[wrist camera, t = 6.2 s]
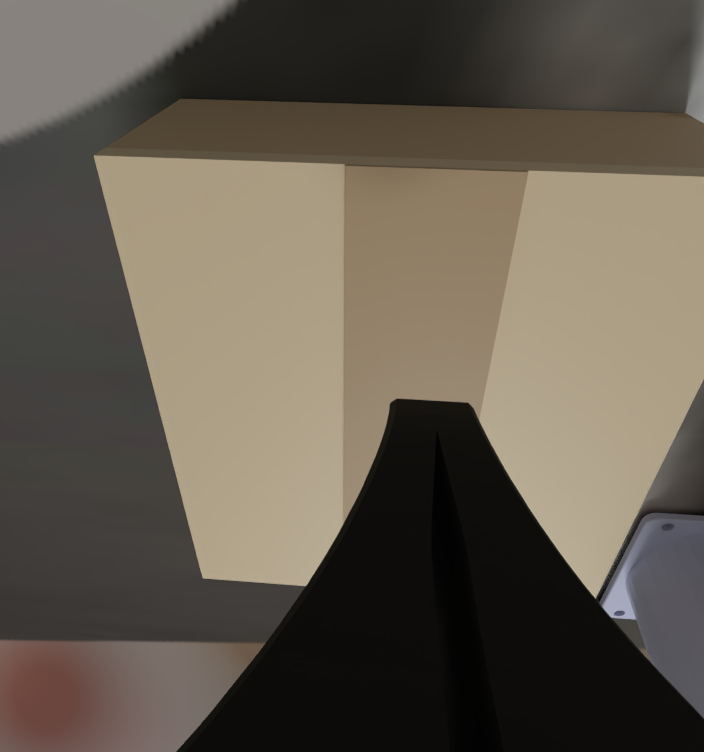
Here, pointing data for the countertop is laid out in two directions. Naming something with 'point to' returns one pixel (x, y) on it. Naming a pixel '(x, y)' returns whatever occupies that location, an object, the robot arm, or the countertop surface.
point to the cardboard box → (424, 132)
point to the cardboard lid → (407, 332)
